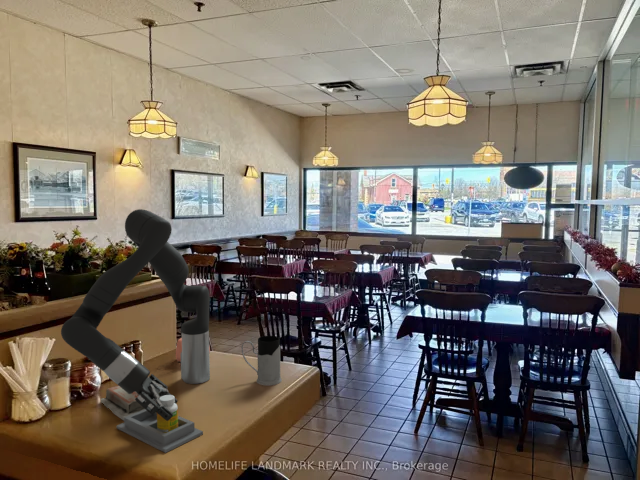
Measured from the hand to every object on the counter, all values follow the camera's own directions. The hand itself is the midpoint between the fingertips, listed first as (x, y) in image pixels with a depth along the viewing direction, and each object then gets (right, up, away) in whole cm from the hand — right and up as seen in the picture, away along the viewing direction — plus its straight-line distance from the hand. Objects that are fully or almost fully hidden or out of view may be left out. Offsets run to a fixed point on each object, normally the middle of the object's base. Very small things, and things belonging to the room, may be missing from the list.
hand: (173, 410), depth 132 cm
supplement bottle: (-2, -6, 0) cm, 6 cm away
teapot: (-11, -1, +60) cm, 61 cm away
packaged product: (-20, -6, +19) cm, 28 cm away
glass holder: (+19, -3, +40) cm, 44 cm away
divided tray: (-5, -7, +3) cm, 9 cm away
